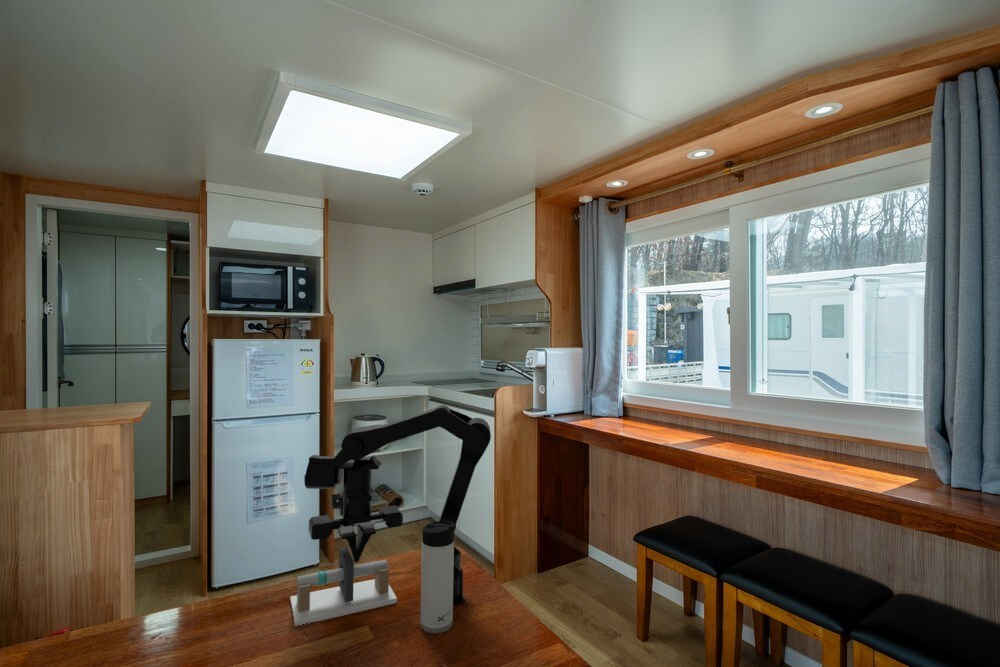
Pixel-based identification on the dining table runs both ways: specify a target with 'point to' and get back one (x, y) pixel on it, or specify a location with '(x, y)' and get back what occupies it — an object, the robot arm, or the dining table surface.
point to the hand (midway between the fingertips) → (355, 561)
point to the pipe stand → (332, 600)
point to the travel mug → (437, 576)
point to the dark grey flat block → (346, 573)
